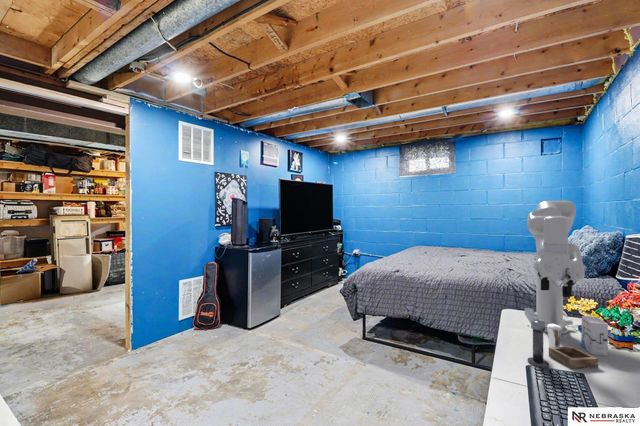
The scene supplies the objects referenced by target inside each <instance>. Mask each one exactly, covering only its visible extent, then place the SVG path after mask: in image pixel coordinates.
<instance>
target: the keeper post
mask: <svg viewBox="0 0 640 426" xmlns="http://www.w3.org/2000/svg"><path fill="white" fill-rule="evenodd" d="M527 362H528V364H530V365H532V366H535V367H537V366H539V367H538V368H541V367H544V369H546V368H549V367H550V363H549V362H548V361H547V360H545V359H544V331H537V330H534V329H532V356H531V357H528V358H527Z"/></svg>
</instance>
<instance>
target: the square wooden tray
mask: <svg viewBox="0 0 640 426" xmlns="http://www.w3.org/2000/svg"><path fill="white" fill-rule="evenodd" d="M548 356H549V357H550V358H552V359H554V360H556V361H557V362H560V363H561V364H563V365H565V366H567V367H568V368H570V369H571V370H576V369H577V370H581V369H593V368H595V369H596V368H599V358H598V357H595V356H594V355H592V354H589V353H587V352H585V351H583V350H581V349H579V348H577V347H575V346H573V345H571V346H560V347H549V346H548Z"/></svg>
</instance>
